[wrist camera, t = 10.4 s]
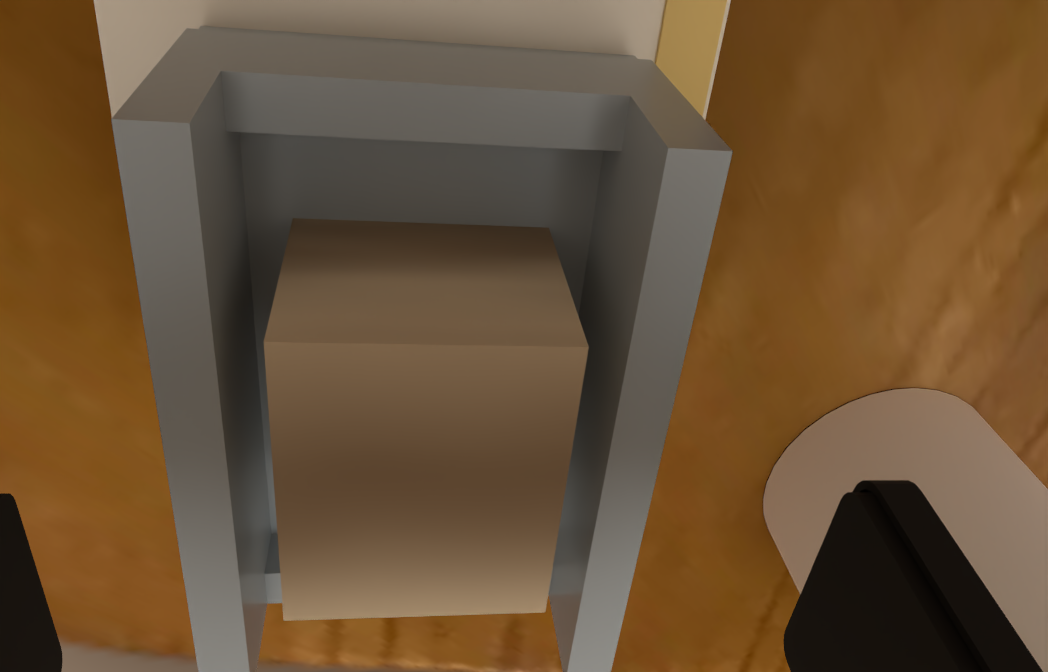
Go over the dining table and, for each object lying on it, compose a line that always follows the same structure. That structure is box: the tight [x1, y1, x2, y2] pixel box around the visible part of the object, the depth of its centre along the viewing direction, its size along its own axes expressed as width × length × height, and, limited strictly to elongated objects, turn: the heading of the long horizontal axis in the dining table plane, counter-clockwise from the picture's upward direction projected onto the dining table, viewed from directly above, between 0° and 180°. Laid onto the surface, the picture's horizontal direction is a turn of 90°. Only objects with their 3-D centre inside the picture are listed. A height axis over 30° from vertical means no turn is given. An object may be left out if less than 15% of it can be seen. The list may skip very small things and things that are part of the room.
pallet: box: [111, 26, 733, 672], centre depth 15 cm, size 10×7×5 cm
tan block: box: [264, 218, 589, 621], centre depth 14 cm, size 5×4×4 cm
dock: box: [94, 0, 731, 577], centre depth 18 cm, size 15×10×4 cm, turn 174°
